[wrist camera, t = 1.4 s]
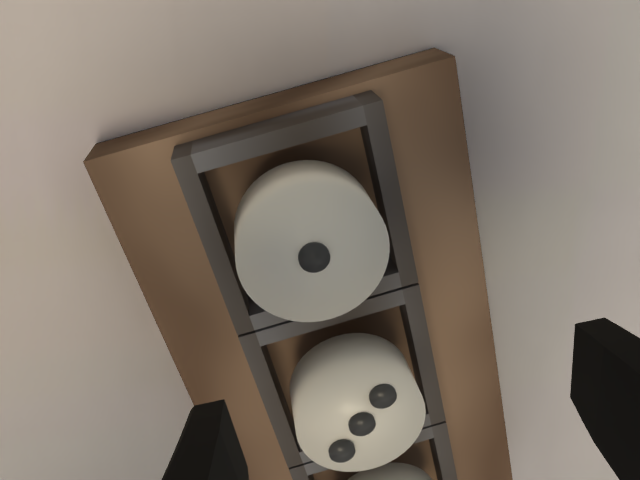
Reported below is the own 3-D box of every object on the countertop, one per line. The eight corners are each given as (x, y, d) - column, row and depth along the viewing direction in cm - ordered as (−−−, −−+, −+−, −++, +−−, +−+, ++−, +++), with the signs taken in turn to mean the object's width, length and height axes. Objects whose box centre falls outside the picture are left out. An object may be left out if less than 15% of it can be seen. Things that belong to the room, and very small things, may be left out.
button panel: (262, 524, 29) (267, 593, 26) (95, 143, 20) (71, 177, 17) (495, 454, 29) (528, 513, 26) (434, 47, 20) (473, 63, 17)
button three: (306, 444, 22) (314, 489, 20) (275, 353, 20) (280, 395, 18) (418, 411, 22) (436, 453, 20) (397, 318, 20) (414, 355, 18)
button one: (257, 304, 19) (261, 342, 17) (214, 183, 17) (213, 211, 15) (385, 267, 19) (403, 300, 17) (357, 142, 17) (374, 165, 15)
